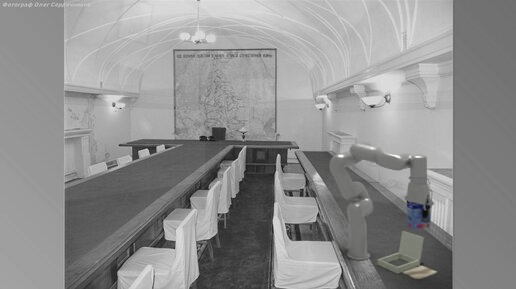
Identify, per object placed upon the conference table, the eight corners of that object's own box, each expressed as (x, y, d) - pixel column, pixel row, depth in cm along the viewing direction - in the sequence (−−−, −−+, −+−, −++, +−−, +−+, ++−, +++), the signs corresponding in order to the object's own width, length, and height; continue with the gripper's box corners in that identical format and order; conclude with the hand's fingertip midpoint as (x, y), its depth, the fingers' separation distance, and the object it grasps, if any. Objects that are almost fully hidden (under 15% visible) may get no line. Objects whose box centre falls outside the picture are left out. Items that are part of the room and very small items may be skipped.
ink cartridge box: (413, 229, 171) (412, 200, 171) (406, 226, 177) (405, 198, 176) (431, 227, 173) (430, 198, 172) (424, 224, 178) (423, 196, 178)
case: (377, 264, 188) (377, 238, 187) (403, 256, 198) (403, 230, 197) (397, 273, 177) (397, 245, 176) (424, 263, 187) (424, 236, 186)
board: (402, 273, 177) (402, 272, 177) (421, 266, 184) (420, 265, 184) (418, 280, 169) (418, 278, 169) (436, 272, 176) (436, 271, 176)
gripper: (398, 178, 179) (399, 213, 180) (429, 183, 164) (429, 221, 165) (408, 177, 183) (409, 210, 184) (439, 181, 167) (440, 218, 169)
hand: (418, 215), depth 175 cm, fingers closed on ink cartridge box, 6 cm apart
